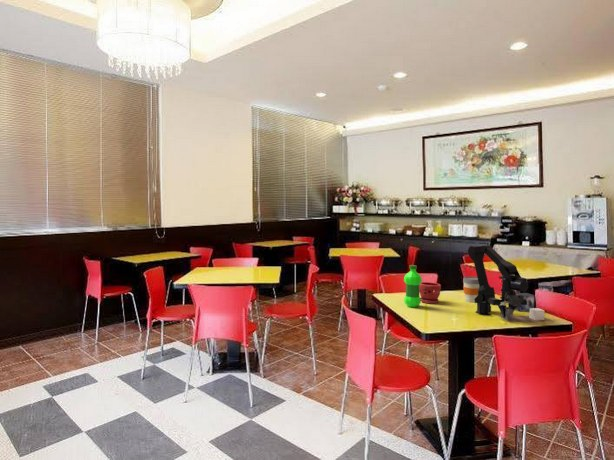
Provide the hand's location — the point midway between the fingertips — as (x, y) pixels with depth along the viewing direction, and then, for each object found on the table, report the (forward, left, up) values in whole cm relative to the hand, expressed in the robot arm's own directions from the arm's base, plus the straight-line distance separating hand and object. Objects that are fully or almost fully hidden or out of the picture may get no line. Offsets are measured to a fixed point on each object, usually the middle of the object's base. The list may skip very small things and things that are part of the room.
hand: (506, 317), depth 216 cm
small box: (+21, +19, -2) cm, 28 cm away
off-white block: (+17, 0, -1) cm, 17 cm away
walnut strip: (+11, 0, -2) cm, 11 cm away
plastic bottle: (-39, +35, -2) cm, 53 cm away
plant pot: (-24, +46, -2) cm, 52 cm away
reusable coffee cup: (+5, +47, -2) cm, 47 cm away
